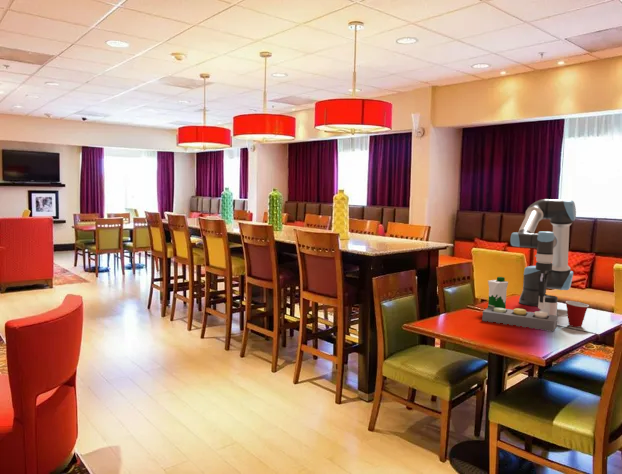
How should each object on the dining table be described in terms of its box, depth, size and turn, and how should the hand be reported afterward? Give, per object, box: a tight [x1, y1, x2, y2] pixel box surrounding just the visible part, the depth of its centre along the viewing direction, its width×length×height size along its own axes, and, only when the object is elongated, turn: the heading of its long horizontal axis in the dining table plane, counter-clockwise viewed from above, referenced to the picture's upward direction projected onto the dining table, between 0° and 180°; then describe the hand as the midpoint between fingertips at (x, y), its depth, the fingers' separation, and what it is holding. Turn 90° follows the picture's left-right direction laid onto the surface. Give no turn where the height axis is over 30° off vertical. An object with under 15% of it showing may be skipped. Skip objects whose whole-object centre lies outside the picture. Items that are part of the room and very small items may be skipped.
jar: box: [539, 294, 559, 316], centre depth 268 cm, size 9×8×12 cm
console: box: [481, 306, 559, 332], centre depth 258 cm, size 14×34×5 cm, turn 57°
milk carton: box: [487, 276, 509, 309], centre depth 278 cm, size 9×9×20 cm
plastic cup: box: [565, 300, 590, 328], centre depth 254 cm, size 11×11×12 cm
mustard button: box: [513, 307, 527, 315], centre depth 257 cm, size 6×6×2 cm
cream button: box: [533, 310, 548, 318], centre depth 252 cm, size 6×6×2 cm
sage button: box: [494, 308, 507, 313], centre depth 263 cm, size 6×6×2 cm
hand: (541, 308), depth 251 cm, fingers closed
